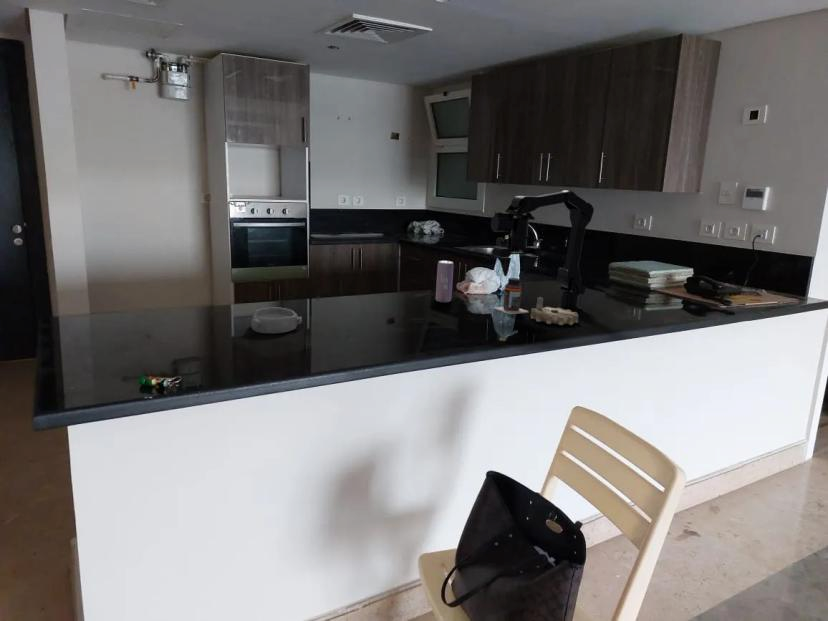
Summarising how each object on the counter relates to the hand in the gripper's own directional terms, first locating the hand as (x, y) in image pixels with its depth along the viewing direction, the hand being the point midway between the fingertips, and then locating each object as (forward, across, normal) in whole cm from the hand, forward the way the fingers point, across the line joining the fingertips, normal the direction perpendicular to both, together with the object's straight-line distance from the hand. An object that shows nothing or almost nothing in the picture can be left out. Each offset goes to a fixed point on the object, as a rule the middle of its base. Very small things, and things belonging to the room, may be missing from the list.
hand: (515, 275), depth 206 cm
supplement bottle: (+12, +1, +1) cm, 13 cm away
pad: (+13, +1, +1) cm, 13 cm away
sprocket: (+13, -4, +17) cm, 22 cm away
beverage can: (+13, +17, -20) cm, 30 cm away
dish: (+13, +87, -2) cm, 88 cm away
